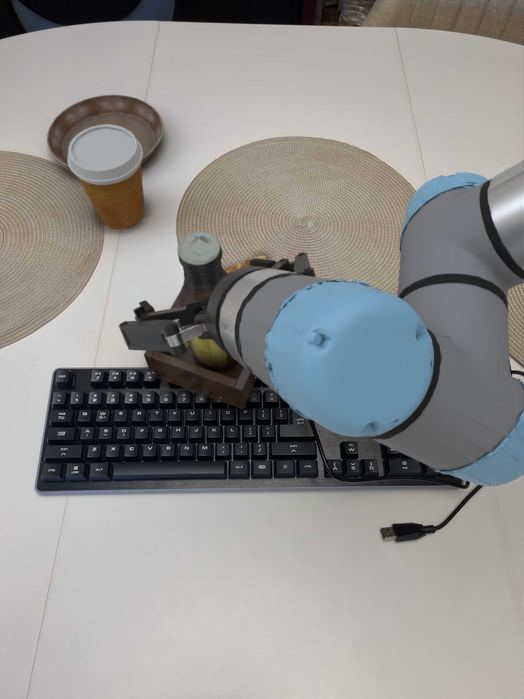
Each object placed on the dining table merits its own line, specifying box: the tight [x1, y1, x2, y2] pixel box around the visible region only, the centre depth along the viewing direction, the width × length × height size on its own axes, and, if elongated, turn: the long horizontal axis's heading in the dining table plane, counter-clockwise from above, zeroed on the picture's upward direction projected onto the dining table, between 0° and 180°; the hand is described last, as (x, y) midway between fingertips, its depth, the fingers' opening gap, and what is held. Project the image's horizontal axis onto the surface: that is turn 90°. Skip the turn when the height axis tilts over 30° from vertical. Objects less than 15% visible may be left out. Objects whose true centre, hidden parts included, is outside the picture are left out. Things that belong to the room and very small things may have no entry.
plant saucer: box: [46, 94, 164, 169], centre depth 84 cm, size 18×18×3 cm
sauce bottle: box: [176, 231, 237, 370], centre depth 58 cm, size 6×6×20 cm
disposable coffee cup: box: [67, 125, 145, 230], centre depth 73 cm, size 10×10×12 cm
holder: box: [143, 290, 259, 411], centre depth 65 cm, size 12×12×6 cm
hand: (202, 291), depth 60 cm, fingers open, 12 cm apart
